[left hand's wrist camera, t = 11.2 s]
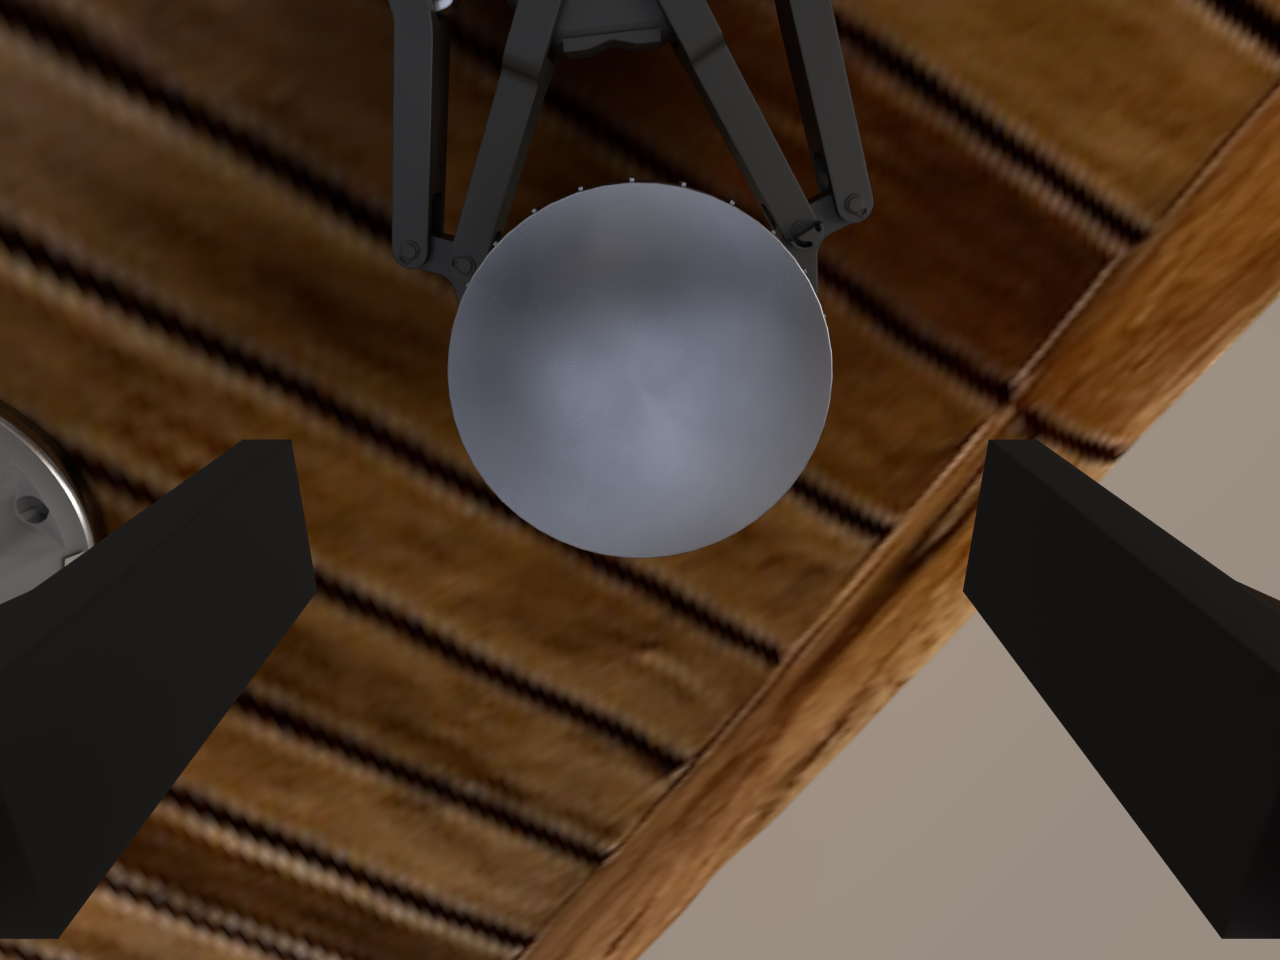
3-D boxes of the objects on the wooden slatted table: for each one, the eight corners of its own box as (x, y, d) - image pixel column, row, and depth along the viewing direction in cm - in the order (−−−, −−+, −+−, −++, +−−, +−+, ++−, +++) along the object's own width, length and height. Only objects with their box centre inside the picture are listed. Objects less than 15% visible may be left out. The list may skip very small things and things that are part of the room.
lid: (486, 135, 20) (472, 134, 18) (868, 224, 21) (889, 230, 19) (439, 494, 24) (423, 522, 22) (765, 558, 24) (775, 589, 23)
